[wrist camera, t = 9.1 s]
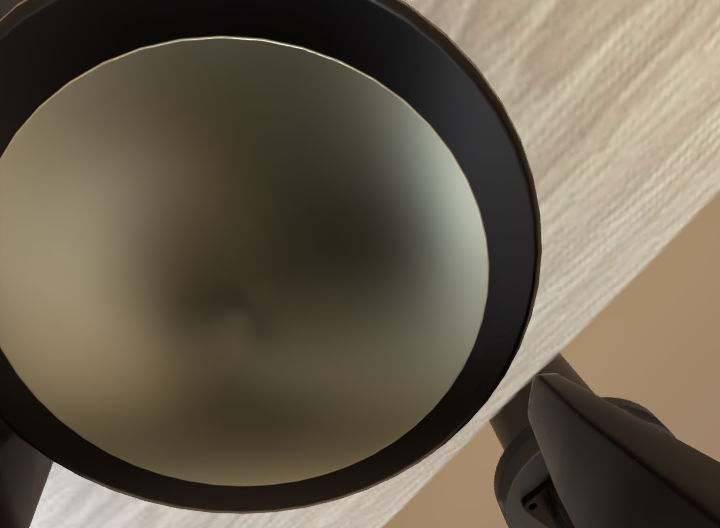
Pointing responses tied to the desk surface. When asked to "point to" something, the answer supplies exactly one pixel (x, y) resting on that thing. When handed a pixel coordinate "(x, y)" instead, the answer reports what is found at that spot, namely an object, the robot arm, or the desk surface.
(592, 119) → the desk surface
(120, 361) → the flashlight
